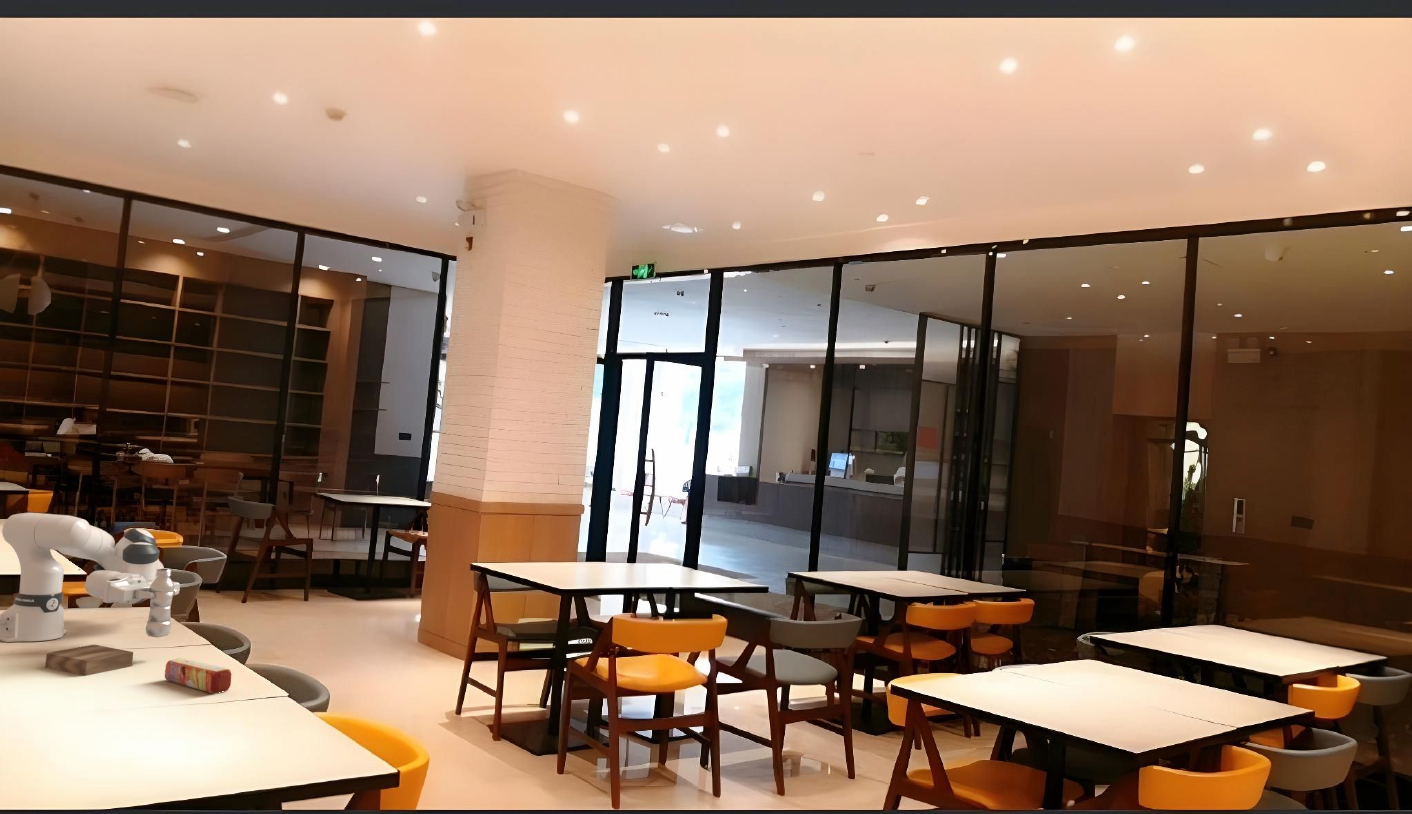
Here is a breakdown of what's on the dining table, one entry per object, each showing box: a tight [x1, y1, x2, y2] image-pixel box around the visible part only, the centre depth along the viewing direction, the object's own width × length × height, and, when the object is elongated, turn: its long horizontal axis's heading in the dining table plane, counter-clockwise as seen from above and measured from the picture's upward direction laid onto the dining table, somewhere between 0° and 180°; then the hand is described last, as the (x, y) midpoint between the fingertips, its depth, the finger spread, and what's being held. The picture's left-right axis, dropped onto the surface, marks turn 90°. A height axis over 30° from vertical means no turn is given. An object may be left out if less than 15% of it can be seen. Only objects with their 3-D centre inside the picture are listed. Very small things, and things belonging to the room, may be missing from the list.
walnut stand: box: [45, 644, 134, 676], centre depth 268 cm, size 16×14×4 cm
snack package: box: [164, 657, 233, 694], centre depth 256 cm, size 21×7×7 cm, turn 61°
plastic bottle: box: [145, 568, 175, 638], centre depth 280 cm, size 6×7×20 cm
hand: (164, 593), depth 280 cm, fingers closed on plastic bottle, 6 cm apart
